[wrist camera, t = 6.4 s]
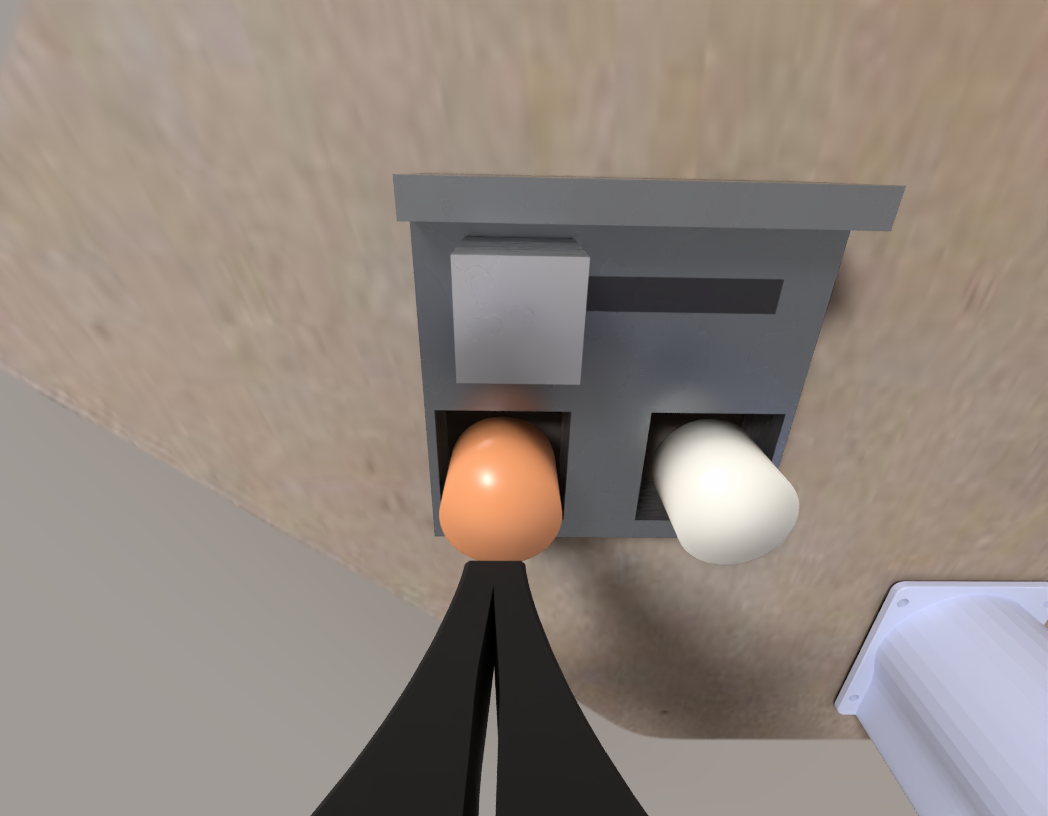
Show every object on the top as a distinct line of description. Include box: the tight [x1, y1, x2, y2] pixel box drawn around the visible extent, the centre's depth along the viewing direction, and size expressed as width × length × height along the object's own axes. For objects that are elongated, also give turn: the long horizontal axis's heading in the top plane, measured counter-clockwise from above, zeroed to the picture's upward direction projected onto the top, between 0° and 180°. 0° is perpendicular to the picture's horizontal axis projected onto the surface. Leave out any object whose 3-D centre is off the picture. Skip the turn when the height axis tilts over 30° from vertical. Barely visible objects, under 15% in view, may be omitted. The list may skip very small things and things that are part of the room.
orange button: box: [439, 416, 562, 561], centre depth 15 cm, size 4×4×3 cm
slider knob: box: [451, 237, 590, 385], centre depth 12 cm, size 3×3×3 cm
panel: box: [393, 173, 906, 538], centre depth 16 cm, size 12×12×4 cm
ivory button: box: [651, 419, 799, 565], centre depth 16 cm, size 4×4×3 cm
